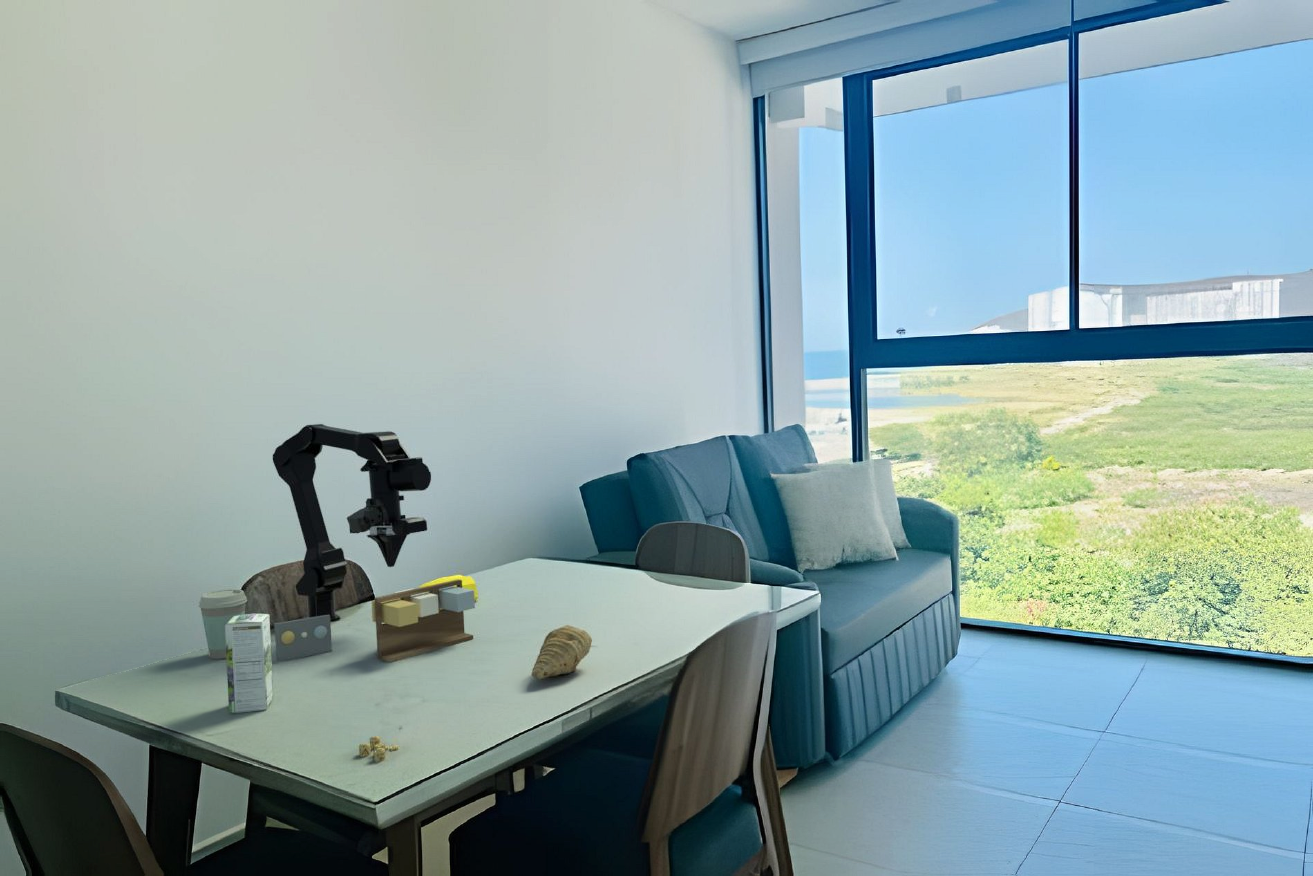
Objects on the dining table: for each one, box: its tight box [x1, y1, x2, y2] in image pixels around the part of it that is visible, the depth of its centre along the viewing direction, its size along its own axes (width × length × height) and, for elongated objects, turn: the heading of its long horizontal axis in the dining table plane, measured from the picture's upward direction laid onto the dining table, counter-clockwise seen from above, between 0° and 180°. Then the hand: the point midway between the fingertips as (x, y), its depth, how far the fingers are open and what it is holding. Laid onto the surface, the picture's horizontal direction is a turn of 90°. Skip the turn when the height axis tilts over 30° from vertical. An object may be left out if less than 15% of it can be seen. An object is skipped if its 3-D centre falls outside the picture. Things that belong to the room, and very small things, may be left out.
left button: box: [371, 599, 418, 627], centre depth 181 cm, size 9×4×4 cm, turn 48°
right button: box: [439, 586, 476, 612], centre depth 190 cm, size 9×4×4 cm, turn 48°
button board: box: [374, 579, 474, 663], centre depth 186 cm, size 4×19×12 cm, turn 138°
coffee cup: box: [198, 588, 248, 660], centre depth 187 cm, size 8×9×12 cm
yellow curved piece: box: [418, 574, 479, 610], centre depth 220 cm, size 18×7×8 cm
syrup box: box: [225, 613, 274, 714], centre depth 155 cm, size 6×6×14 cm
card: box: [273, 615, 333, 662], centre depth 184 cm, size 1×10×7 cm, turn 124°
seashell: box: [531, 624, 593, 680], centre depth 166 cm, size 14×8×8 cm, turn 160°
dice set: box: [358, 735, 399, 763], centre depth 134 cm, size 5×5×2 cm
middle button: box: [392, 587, 439, 617], centre depth 187 cm, size 9×4×4 cm, turn 48°
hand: (391, 566), depth 202 cm, fingers closed
